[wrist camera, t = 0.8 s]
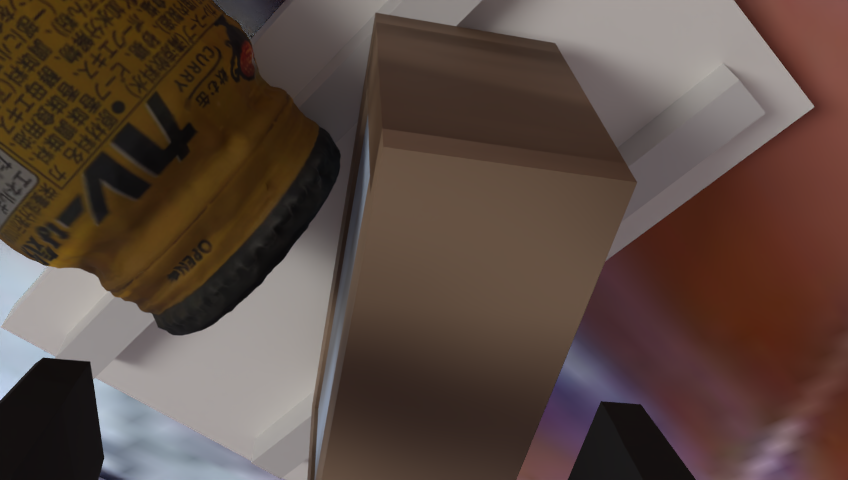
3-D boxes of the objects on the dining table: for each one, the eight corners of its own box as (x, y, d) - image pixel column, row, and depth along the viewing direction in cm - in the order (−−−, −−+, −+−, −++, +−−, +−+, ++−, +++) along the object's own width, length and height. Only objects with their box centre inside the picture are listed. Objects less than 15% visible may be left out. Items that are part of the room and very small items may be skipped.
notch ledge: (301, 463, 27) (297, 511, 26) (14, 304, 23) (-14, 351, 21) (796, 90, 20) (834, 124, 18) (523, -268, 15) (541, -265, 13)
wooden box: (442, 415, 23) (465, 603, 18) (312, 405, 23) (299, 597, 18) (555, 43, 17) (637, 182, 12) (375, 12, 16) (383, 147, 11)
